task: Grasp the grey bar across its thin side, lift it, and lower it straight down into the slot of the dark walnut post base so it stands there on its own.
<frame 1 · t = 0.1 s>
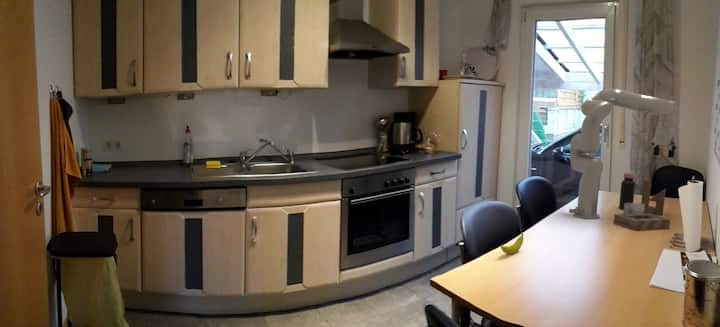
hand: (663, 156, 285), 31 cm above the table, tool pointing down, fingers open, 9 cm apart
post base: (641, 225, 260), on the table
grey bar: (633, 218, 276), on the table
banana: (511, 254, 210), on the table
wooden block: (651, 213, 288), on the table
bottle: (625, 209, 298), on the table
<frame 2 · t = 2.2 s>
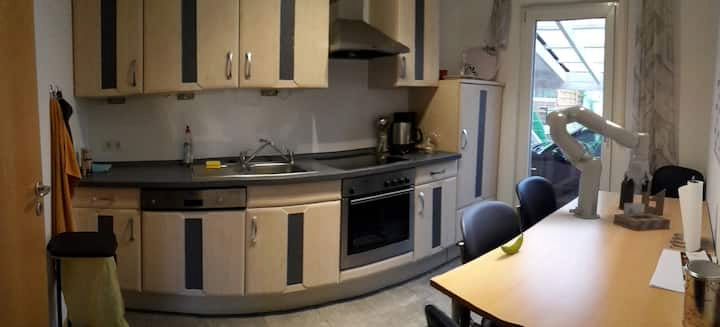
hand: (637, 190, 274), 15 cm above the table, tool pointing down, fingers open, 9 cm apart
nothing on the table moved.
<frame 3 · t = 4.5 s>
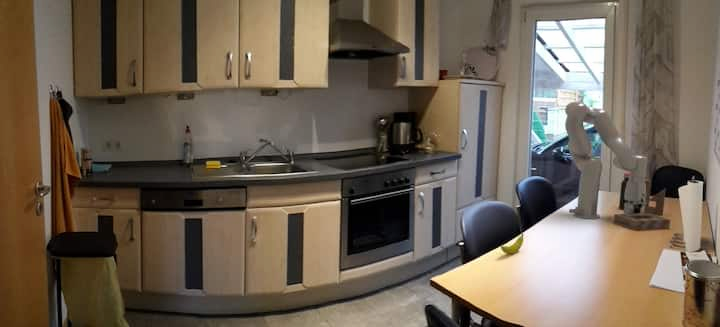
hand: (633, 214, 275), 2 cm above the table, tool pointing down, fingers closed on grey bar, 4 cm apart
grey bar: (633, 218, 276), on the table, touching gripper
everything else where it was.
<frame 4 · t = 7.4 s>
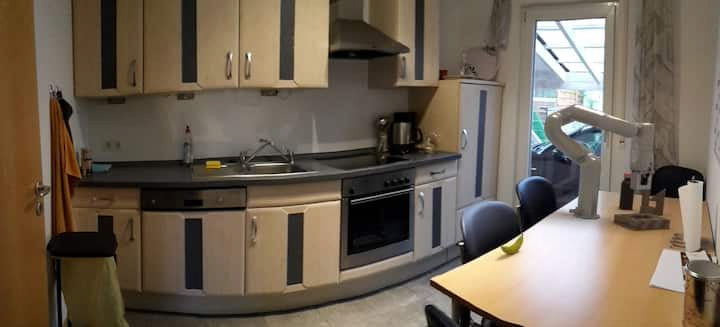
hand: (640, 184, 266), 19 cm above the table, tool pointing down, fingers closed on grey bar, 4 cm apart
grey bar: (640, 188, 266), point 17 cm above the table, touching gripper
everything else where it was.
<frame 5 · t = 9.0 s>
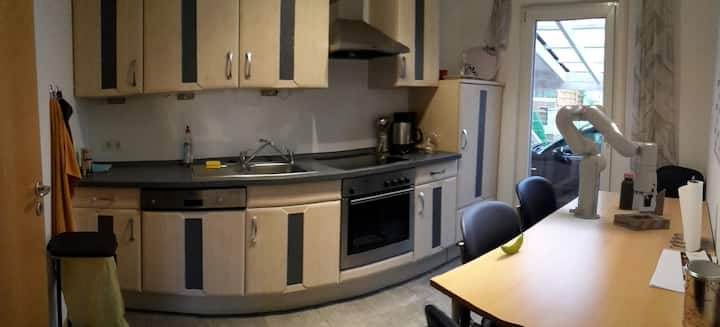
hand: (643, 205, 259), 10 cm above the table, tool pointing down, fingers closed on grey bar, 4 cm apart
grey bar: (643, 210, 259), point 8 cm above the table, touching gripper
everything else where it was.
when the fingers open (5 cm above the table, at t = 10.4 s): grey bar drops 2 cm, resting on post base.
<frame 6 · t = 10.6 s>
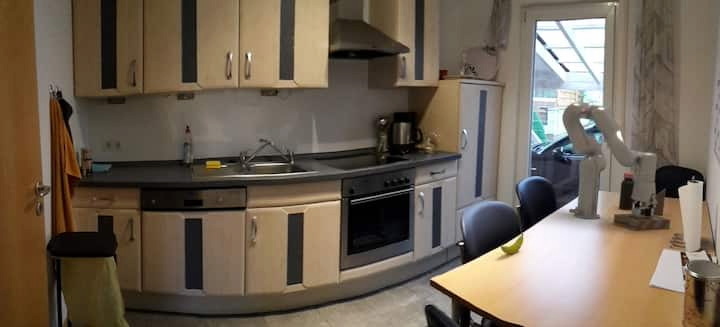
hand: (642, 214, 259), 6 cm above the table, tool pointing down, fingers open, 6 cm apart
grey bar: (641, 223, 260), point 1 cm above the table, touching post base
everything else where it was.
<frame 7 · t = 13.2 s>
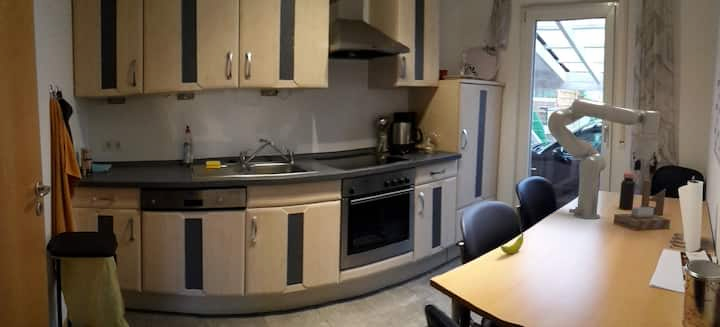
hand: (644, 171, 258), 27 cm above the table, tool pointing down, fingers open, 9 cm apart
nothing on the table moved.
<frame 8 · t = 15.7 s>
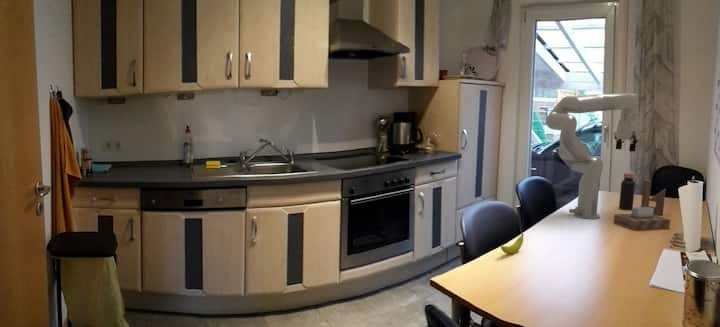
hand: (625, 150, 280), 34 cm above the table, tool pointing down, fingers open, 9 cm apart
nothing on the table moved.
at the end: grey bar 0.1 cm off-centre on the post base, point 1.0 cm above the post base's base; grey bar tilted 0°; the gripper is holding nothing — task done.
